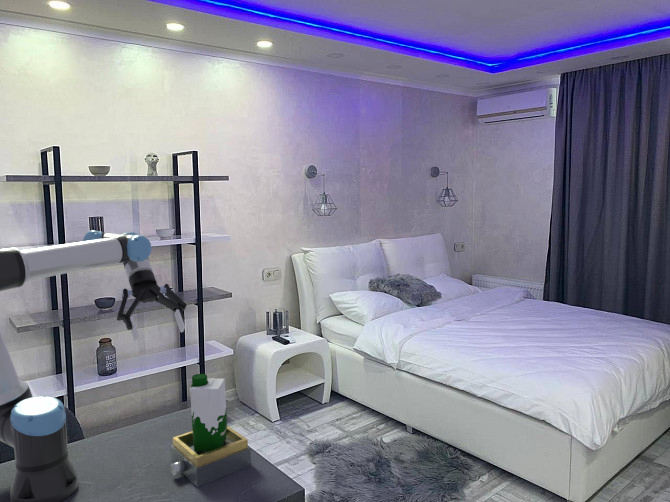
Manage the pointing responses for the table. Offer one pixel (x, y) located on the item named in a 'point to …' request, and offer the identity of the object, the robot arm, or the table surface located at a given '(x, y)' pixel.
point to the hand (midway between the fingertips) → (160, 334)
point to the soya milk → (208, 412)
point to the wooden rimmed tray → (209, 458)
